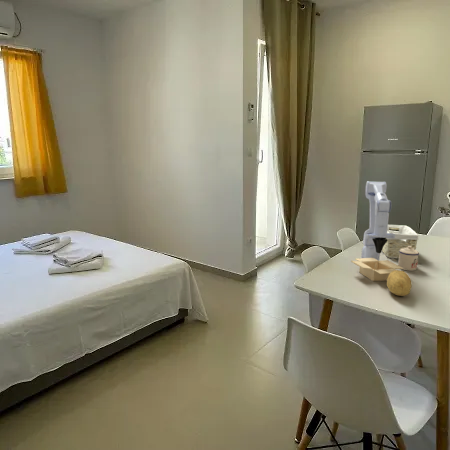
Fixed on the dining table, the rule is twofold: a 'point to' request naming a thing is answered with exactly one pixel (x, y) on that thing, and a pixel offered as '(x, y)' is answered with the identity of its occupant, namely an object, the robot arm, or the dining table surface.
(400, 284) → the potato
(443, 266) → the dining table surface
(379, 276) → the carton
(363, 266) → the flap
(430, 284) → the dining table surface
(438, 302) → the dining table surface
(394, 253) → the storage basket
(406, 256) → the teacup with lid
